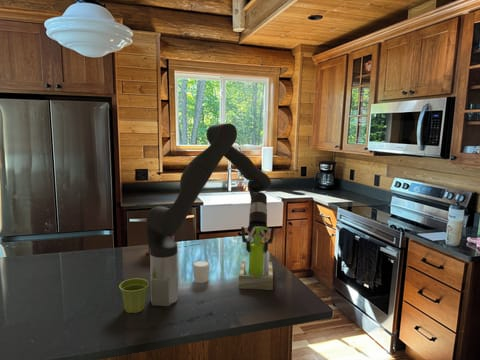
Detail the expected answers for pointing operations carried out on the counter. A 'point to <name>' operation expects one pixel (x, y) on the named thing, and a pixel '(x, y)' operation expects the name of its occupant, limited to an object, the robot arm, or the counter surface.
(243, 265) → the shelf
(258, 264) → the soap dispenser
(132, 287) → the plant pot
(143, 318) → the counter surface
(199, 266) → the shot glass
